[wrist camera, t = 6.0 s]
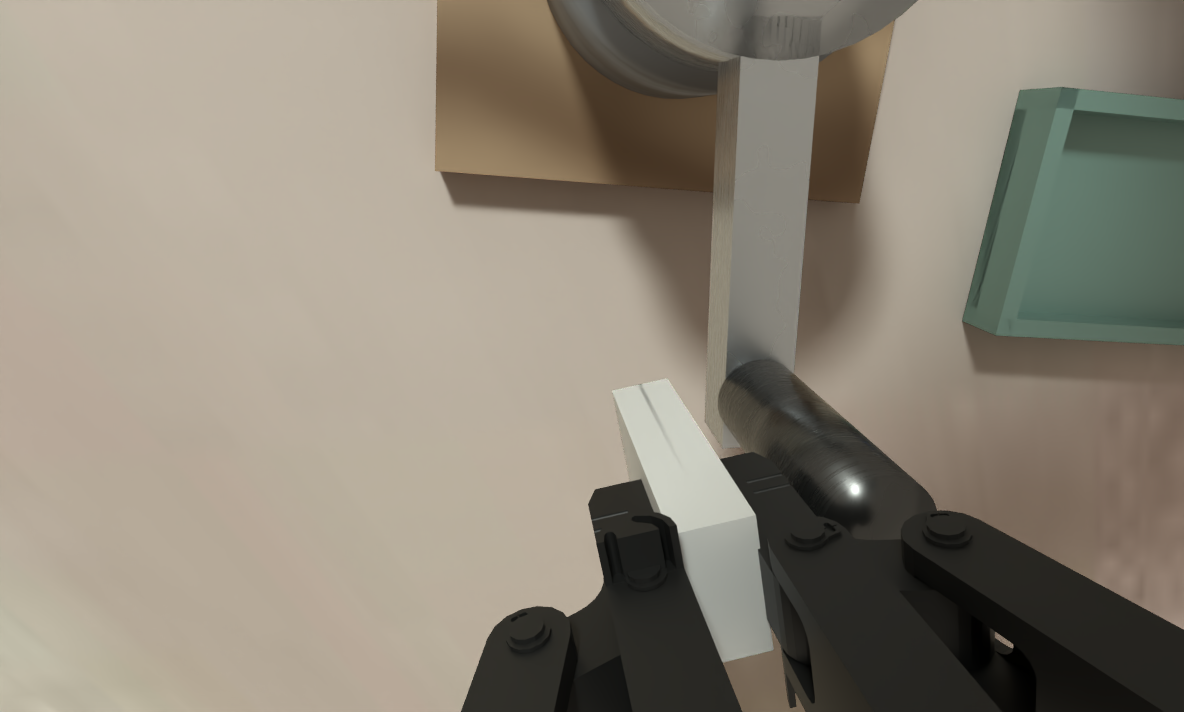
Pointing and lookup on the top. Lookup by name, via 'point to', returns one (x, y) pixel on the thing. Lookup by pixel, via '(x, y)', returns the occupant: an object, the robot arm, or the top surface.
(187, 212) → the top surface
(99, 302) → the top surface
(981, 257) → the tray
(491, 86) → the stand
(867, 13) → the crank
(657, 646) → the robot arm
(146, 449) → the top surface
